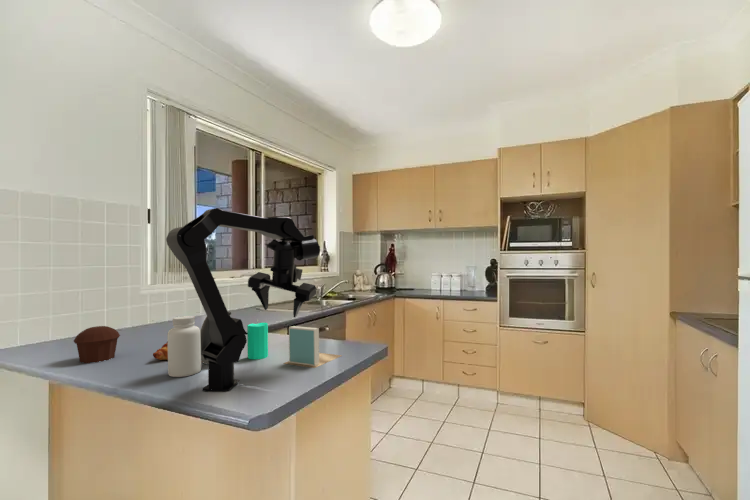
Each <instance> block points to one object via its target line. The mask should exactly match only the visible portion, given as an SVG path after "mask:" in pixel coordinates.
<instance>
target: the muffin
mask: <svg viewBox="0 0 750 500" xmlns="http://www.w3.org/2000/svg"><path fill="white" fill-rule="evenodd" d="M120 336H121V334H120V333H119V331H118V330H117V329H115V328H113V327H111V326H106V325H97V326H91V327H87V328H85V329H84V330H82V331H81V332H79V333H78V334H77V335H76V336H75V337H74V340H73V343H74V344H76V347H77V352H78V359H79V363H80V362H84V363H83V364H91V363H90V362H95V363H100V362H99V361H101V362H105V361H104V360H106V361H109V359H110V360H112V359H115V355H116V350H117V344H118V339H119V338H120ZM111 358H112V359H111Z"/></svg>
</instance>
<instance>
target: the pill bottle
mask: <svg viewBox="0 0 750 500" xmlns="http://www.w3.org/2000/svg"><path fill="white" fill-rule="evenodd" d="M195 320H196V317H195V316H194V315H185V316H176V317H173V318H172V328H171V329H169V330H168V332H167V341H168V360H167V372H168V376H170V377H172V378H183V377H190V376H193V375H195V374H199V373H200V372H201V370H202V361H201V337H200V330H201V328H200V327H198V326H197V325H195V324H196V321H195Z"/></svg>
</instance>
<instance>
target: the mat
mask: <svg viewBox="0 0 750 500" xmlns="http://www.w3.org/2000/svg"><path fill="white" fill-rule="evenodd" d="M340 357H341V358H342V357H343V355H341V354H332V353H323V352H319V365H316V366H311V365H304V364H297V363H290V362H289V360H288V361H285V362H283V364H285V365H291V366H298V367H304V368H305V367H306V368H313V369H315V368H318V367H320V366H323V365H326V364H327V363H329V362H331V361H334V360H336V359H338V358H340Z"/></svg>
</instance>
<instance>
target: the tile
mask: <svg viewBox="0 0 750 500" xmlns="http://www.w3.org/2000/svg"><path fill="white" fill-rule="evenodd" d="M288 350H289V351H288V353H289V354H288V357H289V360H288V361H289V362H290V363H297V364H304V365H311V366H316V365H319V353H320V328H319V327H309V326H297V325H296V326H295V325H293V326H289V327H288Z"/></svg>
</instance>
